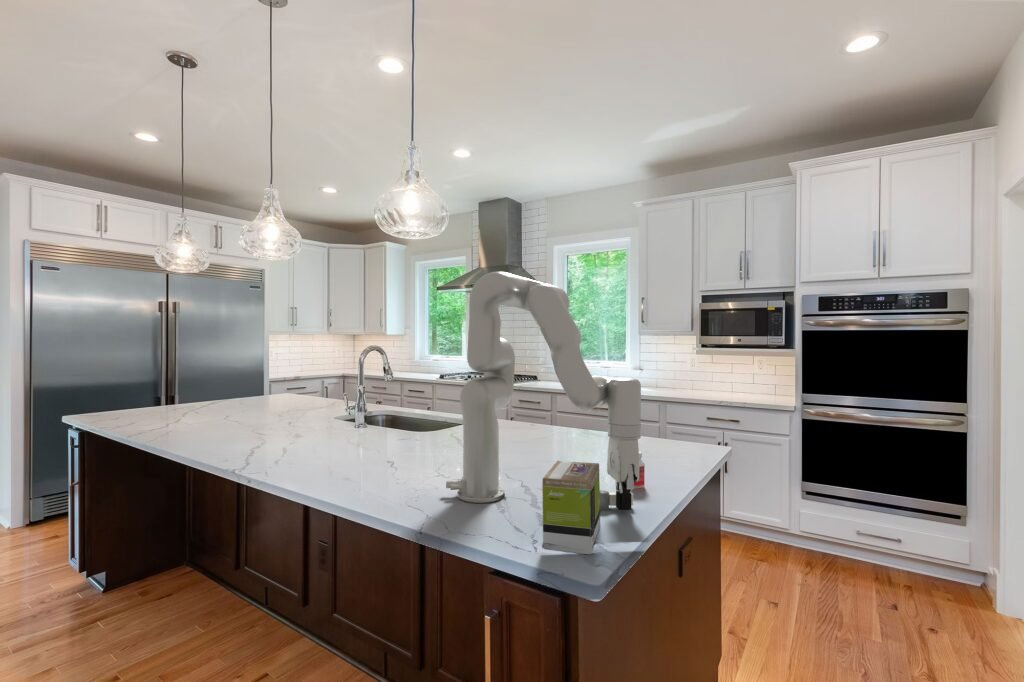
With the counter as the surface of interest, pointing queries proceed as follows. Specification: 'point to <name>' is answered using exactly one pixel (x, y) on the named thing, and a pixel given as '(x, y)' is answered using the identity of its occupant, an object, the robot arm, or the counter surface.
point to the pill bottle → (640, 474)
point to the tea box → (571, 507)
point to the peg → (609, 499)
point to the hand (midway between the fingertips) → (623, 508)
